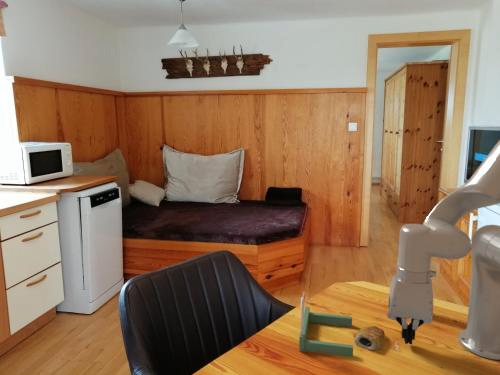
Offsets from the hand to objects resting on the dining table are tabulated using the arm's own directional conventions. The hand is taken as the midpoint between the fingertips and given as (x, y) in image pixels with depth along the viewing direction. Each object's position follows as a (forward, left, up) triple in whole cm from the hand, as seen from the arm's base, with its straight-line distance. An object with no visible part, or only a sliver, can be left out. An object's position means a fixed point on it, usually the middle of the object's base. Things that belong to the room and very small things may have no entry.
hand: (407, 340), depth 100 cm
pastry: (+9, 0, -2) cm, 9 cm away
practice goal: (+20, 0, -2) cm, 20 cm away
